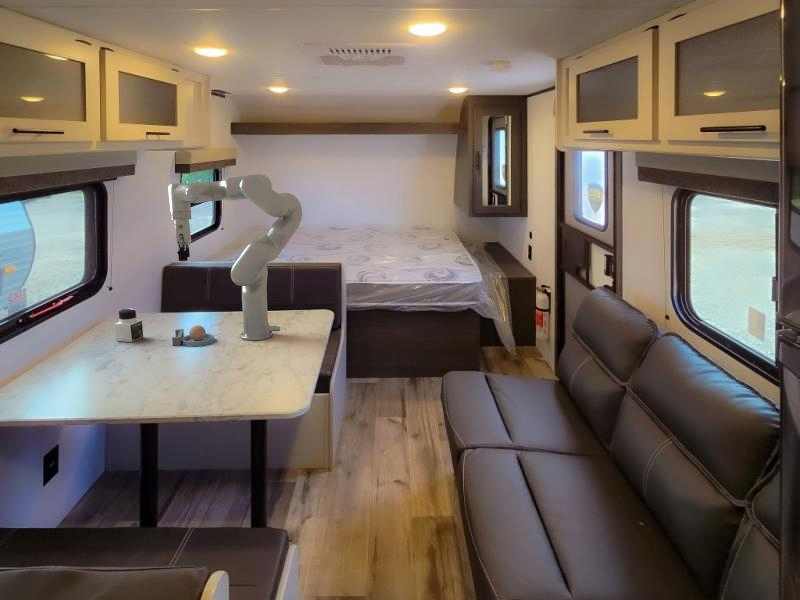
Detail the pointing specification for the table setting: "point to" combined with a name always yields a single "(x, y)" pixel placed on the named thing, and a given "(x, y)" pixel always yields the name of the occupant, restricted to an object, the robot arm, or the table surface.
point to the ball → (197, 333)
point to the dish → (190, 342)
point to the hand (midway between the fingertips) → (184, 259)
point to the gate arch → (178, 337)
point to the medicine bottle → (128, 326)
